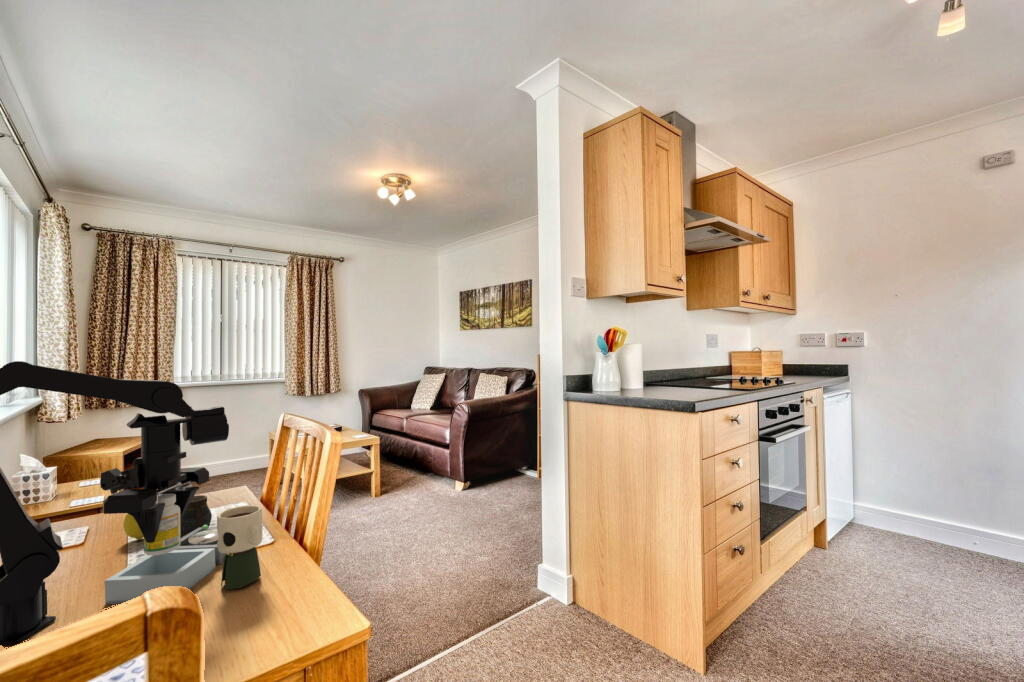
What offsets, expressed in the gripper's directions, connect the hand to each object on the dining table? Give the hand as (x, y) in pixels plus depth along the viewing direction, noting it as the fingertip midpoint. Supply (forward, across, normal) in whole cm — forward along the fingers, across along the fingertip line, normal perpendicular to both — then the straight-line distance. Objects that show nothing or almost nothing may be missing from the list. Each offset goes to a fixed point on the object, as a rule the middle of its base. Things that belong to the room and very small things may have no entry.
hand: (162, 535), depth 84 cm
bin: (+9, 0, 0) cm, 9 cm away
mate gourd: (+9, -25, -11) cm, 29 cm away
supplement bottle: (+3, 0, 0) cm, 3 cm away
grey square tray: (+9, -13, 0) cm, 16 cm away
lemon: (+9, -22, -21) cm, 32 cm away
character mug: (+9, 0, +14) cm, 17 cm away
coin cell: (+7, -13, 0) cm, 15 cm away
